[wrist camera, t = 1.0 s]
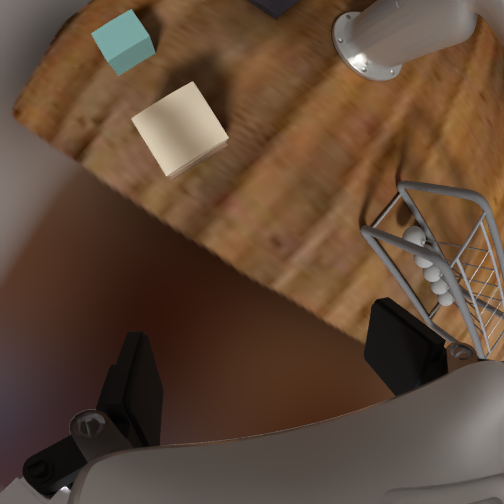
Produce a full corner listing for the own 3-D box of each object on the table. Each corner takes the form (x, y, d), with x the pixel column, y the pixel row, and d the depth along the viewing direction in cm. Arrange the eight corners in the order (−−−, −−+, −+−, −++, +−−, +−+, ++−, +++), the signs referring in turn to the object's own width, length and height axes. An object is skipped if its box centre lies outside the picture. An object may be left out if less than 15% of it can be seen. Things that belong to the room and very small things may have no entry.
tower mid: (193, 94, 27) (192, 81, 22) (223, 143, 29) (228, 137, 24) (141, 126, 27) (131, 118, 22) (171, 175, 29) (166, 176, 24)
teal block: (138, 27, 27) (131, 9, 21) (155, 53, 28) (149, 36, 23) (103, 49, 27) (91, 33, 21) (119, 75, 28) (107, 61, 23)
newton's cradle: (353, 226, 40) (440, 263, 23) (394, 178, 39) (486, 190, 22) (427, 326, 49) (484, 370, 32) (456, 287, 48) (517, 322, 32)
